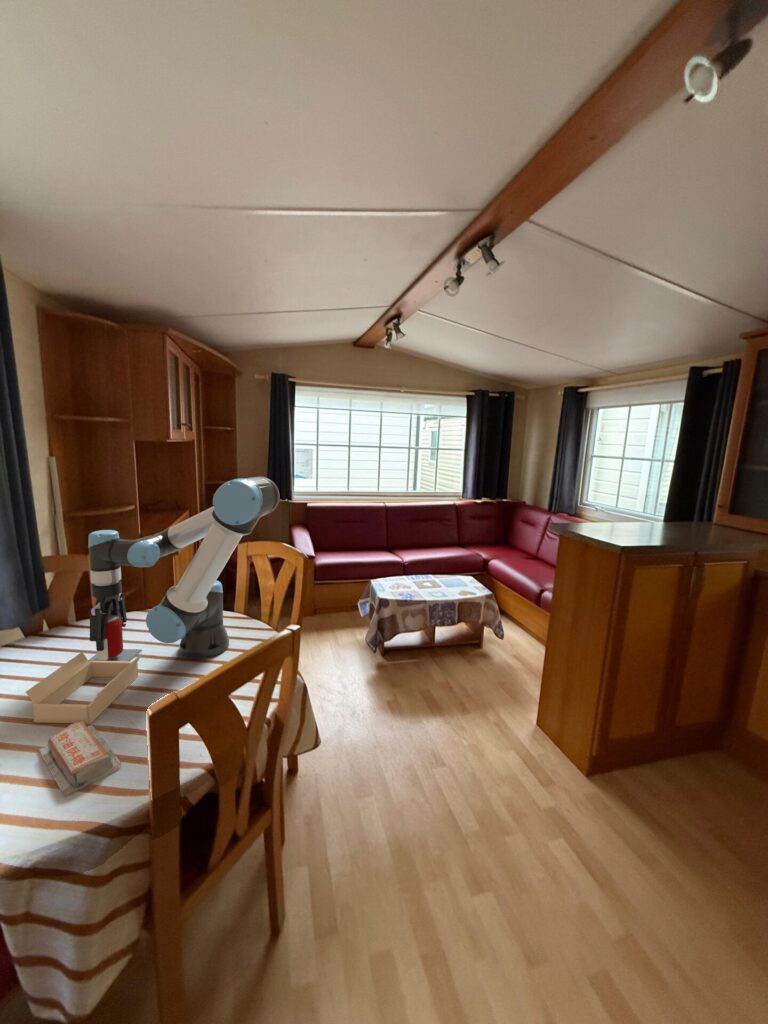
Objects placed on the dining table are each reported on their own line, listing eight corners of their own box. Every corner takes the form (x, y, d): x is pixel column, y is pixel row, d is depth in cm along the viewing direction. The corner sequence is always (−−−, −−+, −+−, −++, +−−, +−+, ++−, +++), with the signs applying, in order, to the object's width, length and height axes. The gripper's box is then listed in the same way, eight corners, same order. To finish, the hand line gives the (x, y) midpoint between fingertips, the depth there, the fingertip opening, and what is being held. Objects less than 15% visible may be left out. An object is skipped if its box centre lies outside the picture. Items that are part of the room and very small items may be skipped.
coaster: (141, 650, 132) (141, 649, 132) (119, 670, 120) (119, 669, 120) (103, 649, 132) (103, 648, 132) (77, 669, 120) (77, 668, 120)
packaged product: (121, 748, 85) (62, 778, 77) (123, 769, 85) (64, 800, 78) (91, 711, 96) (36, 733, 88) (92, 730, 96) (38, 753, 89)
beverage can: (120, 647, 131) (118, 611, 129) (125, 655, 126) (123, 618, 124) (95, 653, 126) (92, 617, 124) (99, 662, 121) (97, 624, 119)
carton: (145, 676, 118) (144, 651, 117) (98, 724, 98) (96, 695, 97) (85, 674, 118) (83, 650, 116) (25, 722, 97) (22, 693, 96)
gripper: (114, 571, 132) (117, 638, 135) (69, 592, 112) (75, 670, 116) (137, 572, 132) (140, 638, 136) (97, 593, 113) (102, 670, 116)
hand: (110, 653), depth 126 cm, fingers closed on beverage can, 7 cm apart
